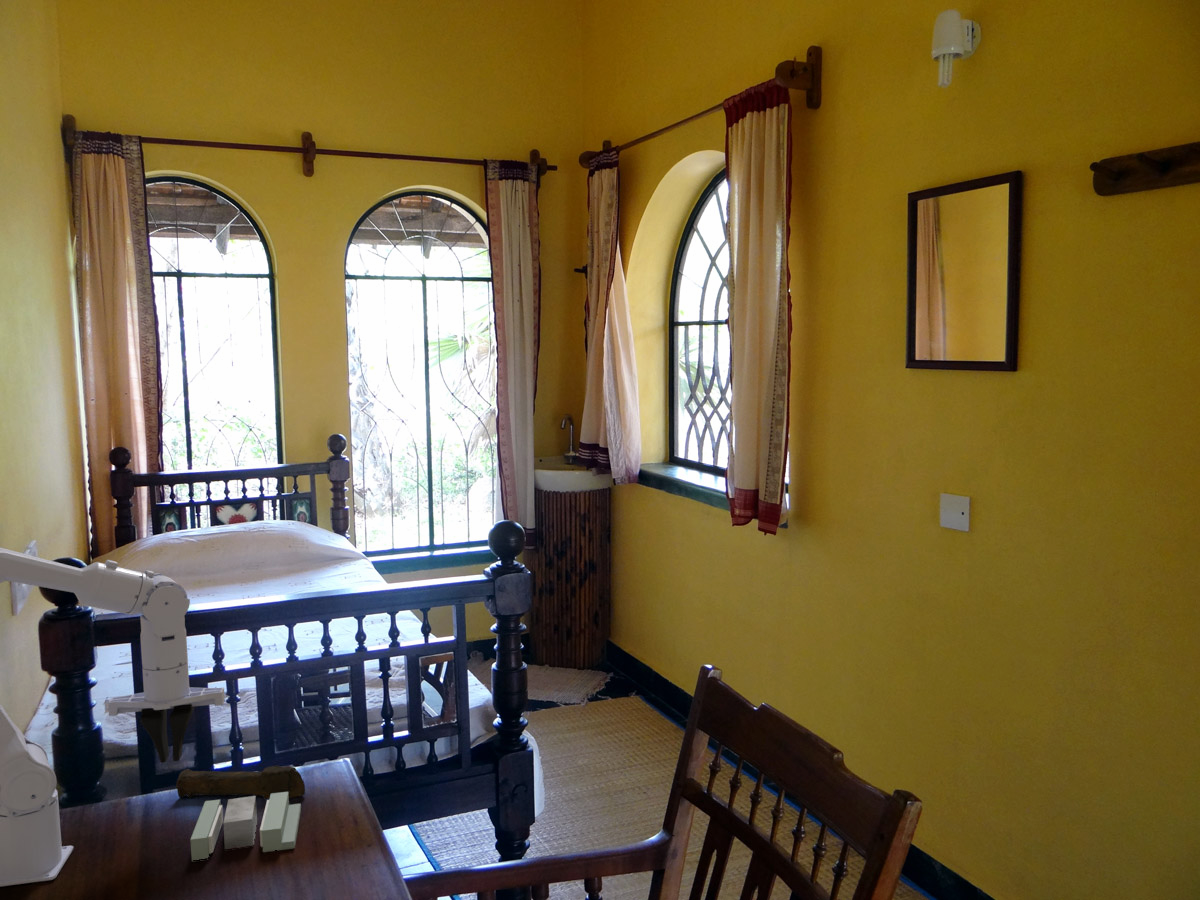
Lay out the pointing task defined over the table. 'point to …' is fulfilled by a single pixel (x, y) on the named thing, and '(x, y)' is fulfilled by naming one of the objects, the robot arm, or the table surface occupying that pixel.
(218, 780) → the brown wooden log
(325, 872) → the table surface
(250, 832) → the block
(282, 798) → the pale green bar
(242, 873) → the table surface
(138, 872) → the table surface
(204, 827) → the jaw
